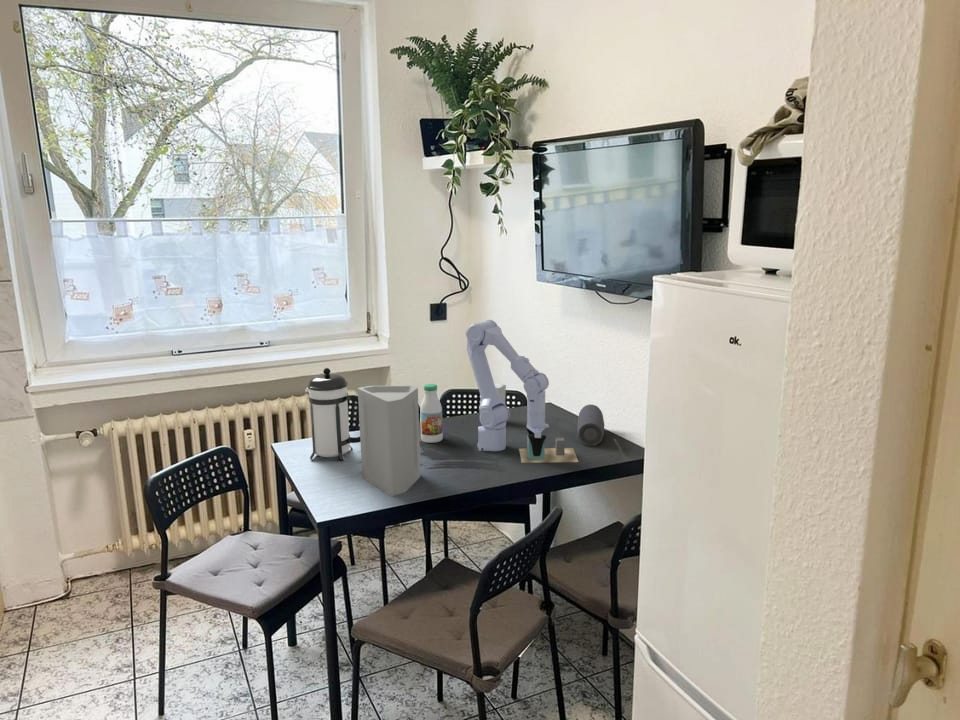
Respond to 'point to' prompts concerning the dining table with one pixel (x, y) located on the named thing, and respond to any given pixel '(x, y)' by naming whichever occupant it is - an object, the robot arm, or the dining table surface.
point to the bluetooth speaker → (590, 425)
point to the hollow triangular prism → (389, 436)
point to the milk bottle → (431, 415)
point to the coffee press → (330, 415)
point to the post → (560, 446)
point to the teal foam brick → (530, 452)
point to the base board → (550, 456)
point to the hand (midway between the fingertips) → (535, 452)
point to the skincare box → (499, 391)
